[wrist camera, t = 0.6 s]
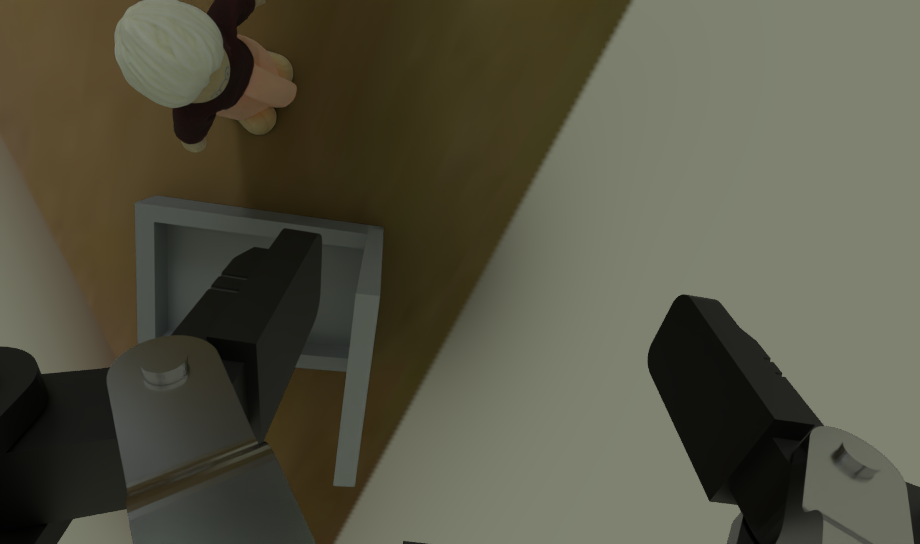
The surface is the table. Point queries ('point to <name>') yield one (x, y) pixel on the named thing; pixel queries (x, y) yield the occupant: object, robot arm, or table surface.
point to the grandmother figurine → (202, 66)
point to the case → (239, 229)
